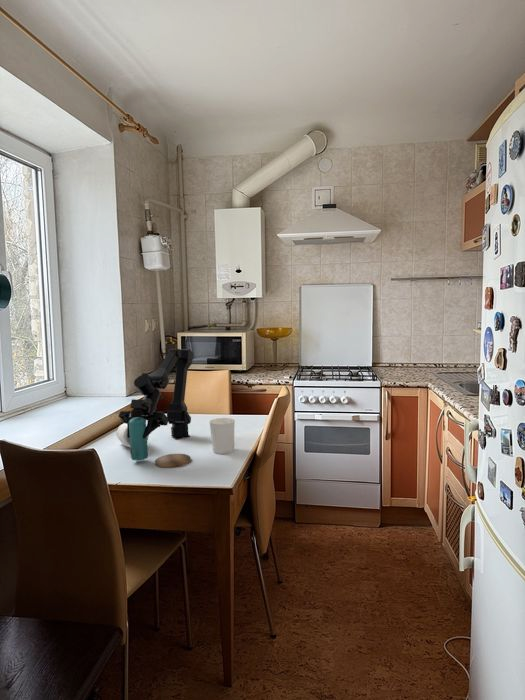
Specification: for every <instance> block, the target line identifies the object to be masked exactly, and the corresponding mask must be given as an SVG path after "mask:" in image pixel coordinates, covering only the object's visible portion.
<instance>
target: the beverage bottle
mask: <svg viewBox="0 0 525 700" xmlns="http://www.w3.org/2000/svg"><path fill="white" fill-rule="evenodd" d="M130 411H131V416H140V415H142V409H133V408H132V409H131V410H130ZM146 426H147V420H145V419H144V418H142V417H135V418H132V419H131V420H130V421H129V433H130V434H129V435H130V437H129V438H130V447H129V449H130V459H131V460H132V461H143V460H146V459H148V458H149V448H148V447H149V445H148V441H149V439H148V440H147V437H146V438H145V439H144V438H143V434H144V431H145V429H146Z"/></svg>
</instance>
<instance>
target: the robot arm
mask: <svg viewBox="0 0 525 700" xmlns="http://www.w3.org/2000/svg"><path fill="white" fill-rule="evenodd" d="M193 360H194V352H193V351H192V350H191V348H188V349H187V348H182V349H181V348H170V349H167V353H166V355H165V357H164V359H162V362H161V363H160V365H159V367H158V368H157V369H156V370H154V371H152V372H151V373H150V374H148V372H143V373H142V374H141V375H139V376H137V377H136V379H134V380H133V381H134V382H133V384H134V387H136V389H137V390H138V391H139V393H140V394H141V395H142V396H143V398H142V399H135V398H133V399H131V400H130V407H129V408H130V409H132V410H133V409H142V415H140V416H131V410H120V411H119V413H118V418H119V419H120V420H121V421H122V423H126V424H127V437H128V438H129V437H130V435H129V434H130V433H129V421H130V420H131V419H132V418H135V417H142V418H144V419H145V420H146V421H147V422H146V429H145V431H144V434H143V438H144V439H145V438H146V437H147V436H148V435H149V436H150V434H152V433H153V432H154V431H155V430H156V429H158V428H160V427H161V426H168V425H171V428H170V430H171V431H170V434H171V435H170V437H171V438H173V439H175V440H182V439H187V438H190V437H191V435H190V434H189V425H190V424H191V423H192V417H191V415H190V414H189V412H188V406H187V405H186V403H185V398H186V397H185V396H186V386H187V377H188V370H189V369H190V367H191V366H192V363H193ZM174 367H176V370H175V371H176V372H175V379H174V390H173V398H172V401H171V402H170V403H168V404H167V411H166V413H165V412H164V411H157V410H158V407H157V405H158V403H159V400H160V399H161V400H162V399H163V394H162V393H161V392H162V391H160V390H164V389H167V386H168V384H169V382H170V378H169V375H171V372H172V370H173V368H174Z"/></svg>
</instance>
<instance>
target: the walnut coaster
mask: <svg viewBox="0 0 525 700" xmlns="http://www.w3.org/2000/svg"><path fill="white" fill-rule="evenodd" d="M191 461H192V460H191V456H190V455H188V454H186V453H170V454H164V455H161V456H158V457H157V458H155V459H154V466H156V467H158V468H162V469H171V468H172V469H173V468H180V467H182V466H186V465H188V464H189V463H191Z"/></svg>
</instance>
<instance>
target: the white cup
mask: <svg viewBox="0 0 525 700" xmlns="http://www.w3.org/2000/svg"><path fill="white" fill-rule="evenodd" d="M235 422H236V421H235V419H234V418H231V417H230V418H229V417H220V418H215V419H210V420H209V429H210V436H211V437H210V438H211V447H212V452H213V453H214V454H218V455H226V454H231V453H232V452H234V451H235Z"/></svg>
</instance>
